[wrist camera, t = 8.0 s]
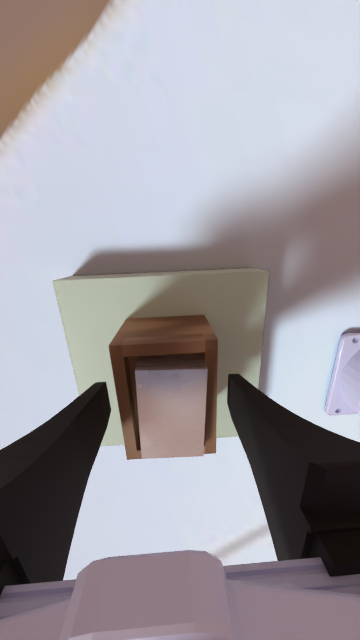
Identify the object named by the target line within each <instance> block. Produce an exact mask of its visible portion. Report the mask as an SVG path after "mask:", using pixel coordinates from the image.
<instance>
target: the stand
mask: <svg viewBox="0 0 360 640" xmlns="http://www.w3.org/2000/svg"><path fill="white" fill-rule="evenodd" d="M268 279H269V271H268V270H263V269H257V268H237V269H215V270H193V271H172V272H150V273H128V274H106V275H84V276H70V277H66V278H62V279H58V280H54V281H53V285H54V289H55V293H56V298H57V302H58V306H59V311H60V315H61V319H62V324H63V328H64V332H65V336H66V341H67V345H68V349H69V354H70V358H71V362H72V366H73V371H74V375H75V379H76V384H77V388H78V392H79V396H80V395H81V394H82V393H83V392H85V391H86V390H87V389H88V388H89V387H90V386H92V385H93V384H94V383H95V382H106V384H107V389H108V395H109V400H110V406H111V414H110V418H109V422H108V426H107V429H106V432H105V435H104V437H103V440H102V443H101V445H100V446H111V445H125V443H124V437H123V431H122V425H121V419H120V413H119V407H118V401H117V395H116V389H115V383H114V377H113V371H112V365H111V359H110V353H109V347H108V346H109V344H110V343H111V341H112V340H113V338H114V337H115V335H116V333H117V332H118V330H119V329H120V327H121V326H122V324H123V323H124V321H125V320H126V319H131V318H150V317H168V316H187V315H205V317H206V319H207V321H208V322H209V324H210V326H211V328H212V330H213V331H214V333H215V335H216V337H217V339H218V367H217V421H216V438H222V437H236V436H238V433H237V431H236V428H235V426H234V424H233V421H232V419H231V415H230V412H229V408H228V404H227V392H228V374H240V375H241V376H242V377H243V378H245V379H246V380H247V381H248V382H249V383H251V384H252V385H253V386H254V387H256V388H257V389H258V386H259V375H260V365H261V354H262V343H263V333H264V322H265V311H266V301H267V290H268Z"/></svg>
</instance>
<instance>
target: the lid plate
mask: <svg viewBox="0 0 360 640" xmlns="http://www.w3.org/2000/svg"><path fill="white" fill-rule="evenodd" d="M207 373H208V368H207V365H206V362H205V359H204V356H203V353H187V354H166V355H149V356H139V358H138V362H137V365H136V369H135V378H136V392H137V405H138V418H139V431H140V444H141V457H142V459H146V458H169V457H192V456H203V453H204V433H205V413H206V393H207Z"/></svg>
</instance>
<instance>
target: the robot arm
mask: <svg viewBox="0 0 360 640" xmlns="http://www.w3.org/2000/svg"><path fill="white" fill-rule="evenodd" d="M354 338H355V339H354ZM353 339H354V340H353ZM352 340H353V341H352ZM227 404H228V408H229V412H230V415H231V419H232V421H233V424H234V426H235V428H236V431H237V433H238V436H239V438H240V440H241V443H242V445H243V448H244V450H245V452H246V455H247V457H248V460H249V463H250V465H251V469H252V472H253V475H254V478H255V481H256V485H257V488H258V491H259V495H260V498H261V501H262V505H263V508H264V512H265V515H266V519H267V522H268V526H269V530H270V533H271V537H272V540H273V544H274V548H275V552H276V556H277V559H278V561H273V562H262V563H251V564H240V565H229V566H223V565H222V563H221V561H220V560H219V559H218V558H217V557H215V556H213V555H211V554H210V553H208V552H206V551H193V550H185V551H174V552H163V553H152V554H140V555H129V556H118V557H108V558H104V559H100V560H96V561H93V562H91V563H90V564H89V565H88V566H86V567H85V568H84V569H83V570H82V571H81V572H79V573H78V576H77V579H76V580H65V581H63V577H64V573H65V568H66V564H67V559H68V555H69V550H70V546H71V542H72V538H73V534H74V530H75V526H76V522H77V518H78V514H79V510H80V506H81V503H82V499H83V495H84V492H85V488H86V485H87V481H88V478H89V475H90V472H91V469H92V466H93V463H94V461H95V458H96V456H97V453H98V450H99V448H100V445H101V443H102V440H103V437H104V435H105V432H106V429H107V426H108V422H109V418H110V414H111V406H110V400H109V395H108V389H107V384H106V382H95V383H94V384H93V385H92V386H90V387H89V388H88V389H87V390H86V391H85V392H83V393H82V394H81V395H80V396H79V397H77V398H76V399H75V400H74V401H73V402H71V403H70V404H69V405H68V406H67V407H65V408H64V409H63V410H61V411H60V412H59V413H57V414H56V415H55V416H54V417H52V418H51V419H50V420H48V421H47V422H45V423H44V424H42V425H41V426H39V427H38V428H36V429H35V430H33V431H32V432H30V433H29V434H27V435H25V436H24V437H22V438H20V439H19V440H17V441H15V442H13V443H12V444H10V445H8V446H7V447H5V448H3V449H1V450H0V640H360V442H357V441H354V440H351V439H348V438H346V437H343V436H341V435H338V434H336V433H333V432H331V431H328V430H326V429H324V428H322V427H320V426H317V425H315V424H313V423H311V422H309V421H307V420H305V419H303V418H301V417H300V416H298V415H296V414H294V413H292V412H291V411H289V410H287V409H286V408H284V407H282V406H281V405H279V404H278V403H276V402H275V401H273V400H272V399H270V398H269V397H268V396H266V395H265V394H264V393H262V392H261V391H260V390H258V389H257V388H256V387H254V386H253V385H252V384H251V383H249V382H248V381H247V380H246V379H245V378H243V377H242V376H241V375H240V374H228V392H227ZM325 412H326V413H327V414H328V415H344V414H360V333H347V334H344V335H342V337H341V338H340V342H339V346H338V351H337V355H336V360H335V364H334V369H333V373H332V378H331V382H330V387H329V391H328V396H327V400H326V405H325Z"/></svg>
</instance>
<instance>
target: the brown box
mask: <svg viewBox="0 0 360 640" xmlns="http://www.w3.org/2000/svg"><path fill="white" fill-rule="evenodd" d="M108 347H109V353H110V359H111V365H112V371H113V377H114V383H115V389H116V395H117V401H118V407H119V413H120V419H121V425H122V431H123V437H124V443H125V449H126V455H127V460H129V459H142V457H141V444H140V431H139V418H138V405H137V392H136V378H135V369H136V365H137V362H138V358H139V356H149V355H166V354H187V353H203V356H204V359H205V362H206V365H207V368H208V373H207V393H206V413H205V433H204V453H203V454H210V453H216V421H217V367H218V339H217V337H216V335H215V333H214V331H213V330H212V328H211V326H210V324H209V322H208V321H207V319H206V317H205V315H187V316H168V317H150V318H131V319H126V320H125V321H124V323H123V324H122V326H121V327H120V329H119V330H118V332H117V333H116V335H115V337H114V338H113V340H112V341H111V343H110V344H109V346H108Z"/></svg>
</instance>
